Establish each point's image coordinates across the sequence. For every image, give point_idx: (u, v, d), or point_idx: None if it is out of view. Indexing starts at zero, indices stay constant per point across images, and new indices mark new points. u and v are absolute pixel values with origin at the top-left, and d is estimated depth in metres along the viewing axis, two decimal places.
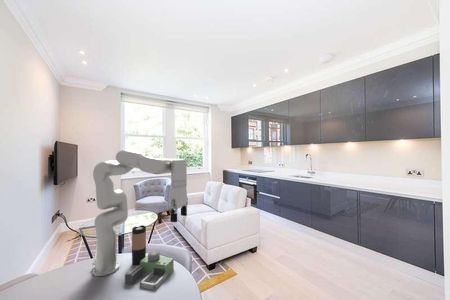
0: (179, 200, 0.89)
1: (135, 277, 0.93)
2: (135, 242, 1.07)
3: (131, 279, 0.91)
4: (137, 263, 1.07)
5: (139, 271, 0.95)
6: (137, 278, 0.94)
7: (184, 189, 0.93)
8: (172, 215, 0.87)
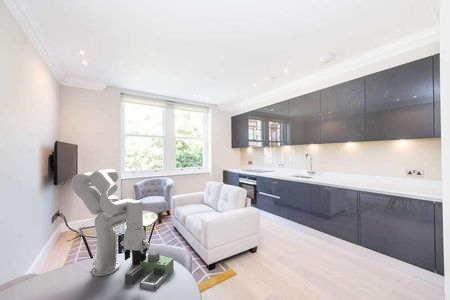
0: None
1: (135, 277, 0.93)
2: None
3: (131, 279, 0.91)
4: (137, 263, 1.07)
5: (139, 271, 0.95)
6: (137, 278, 0.94)
7: None
8: (144, 254, 0.93)
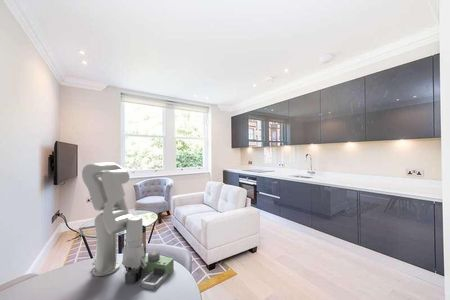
0: None
1: (135, 276, 0.93)
2: None
3: (131, 279, 0.91)
4: None
5: None
6: None
7: None
8: (139, 273, 0.93)
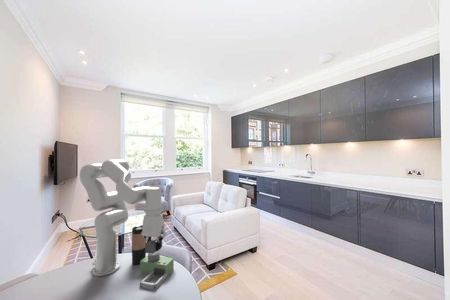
0: None
1: None
2: (135, 242, 1.07)
3: (152, 248, 0.90)
4: (137, 263, 1.07)
5: None
6: None
7: None
8: (160, 243, 0.92)
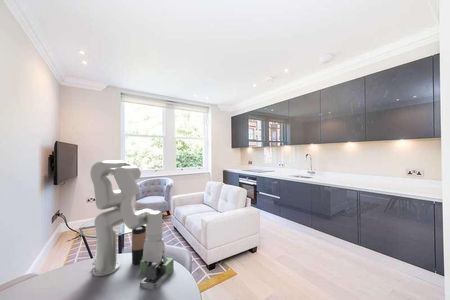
0: None
1: (156, 271, 0.91)
2: (135, 242, 1.07)
3: (152, 273, 0.89)
4: (137, 263, 1.07)
5: None
6: None
7: None
8: (160, 268, 0.92)
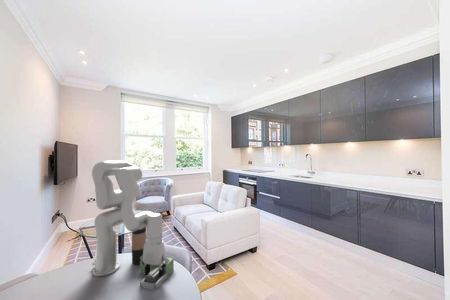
0: None
1: (156, 278, 0.91)
2: (135, 242, 1.07)
3: (152, 281, 0.89)
4: (137, 263, 1.07)
5: None
6: None
7: None
8: (162, 270, 0.91)
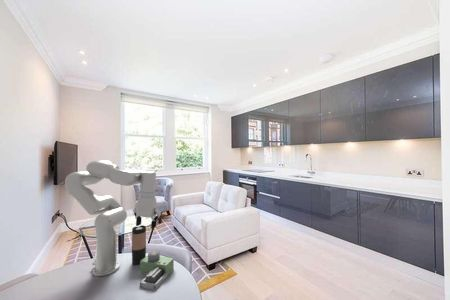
0: None
1: (156, 278, 0.91)
2: (135, 242, 1.07)
3: (152, 281, 0.89)
4: (137, 263, 1.07)
5: (159, 273, 0.94)
6: None
7: None
8: (155, 222, 0.98)
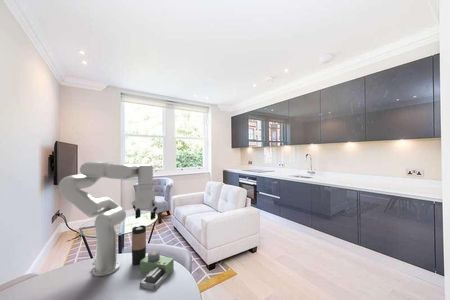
0: None
1: (156, 278, 0.91)
2: (135, 242, 1.07)
3: (153, 281, 0.89)
4: (137, 263, 1.07)
5: (159, 273, 0.94)
6: None
7: None
8: (154, 213, 1.00)
